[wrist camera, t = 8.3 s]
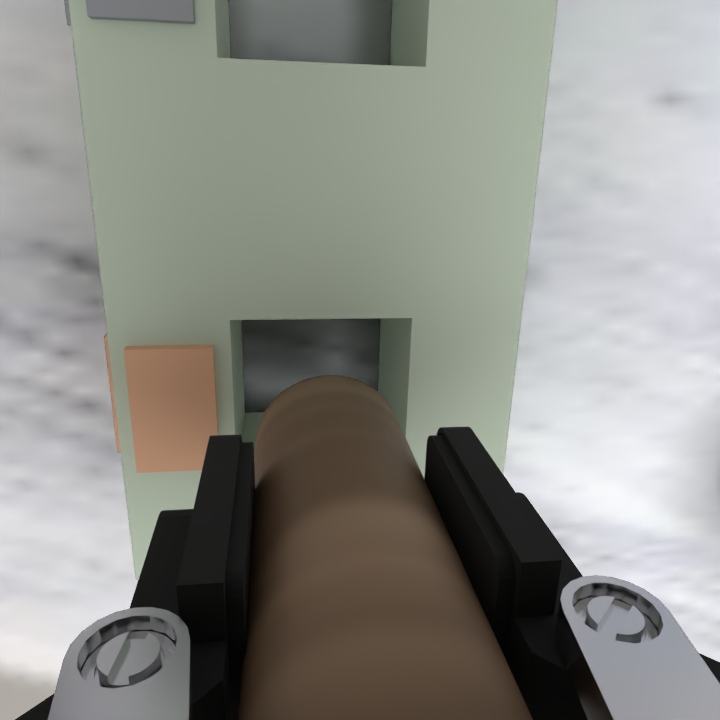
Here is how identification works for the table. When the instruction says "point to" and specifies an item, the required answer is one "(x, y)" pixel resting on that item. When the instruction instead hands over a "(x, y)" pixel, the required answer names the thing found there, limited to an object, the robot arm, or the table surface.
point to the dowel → (358, 575)
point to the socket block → (306, 216)
